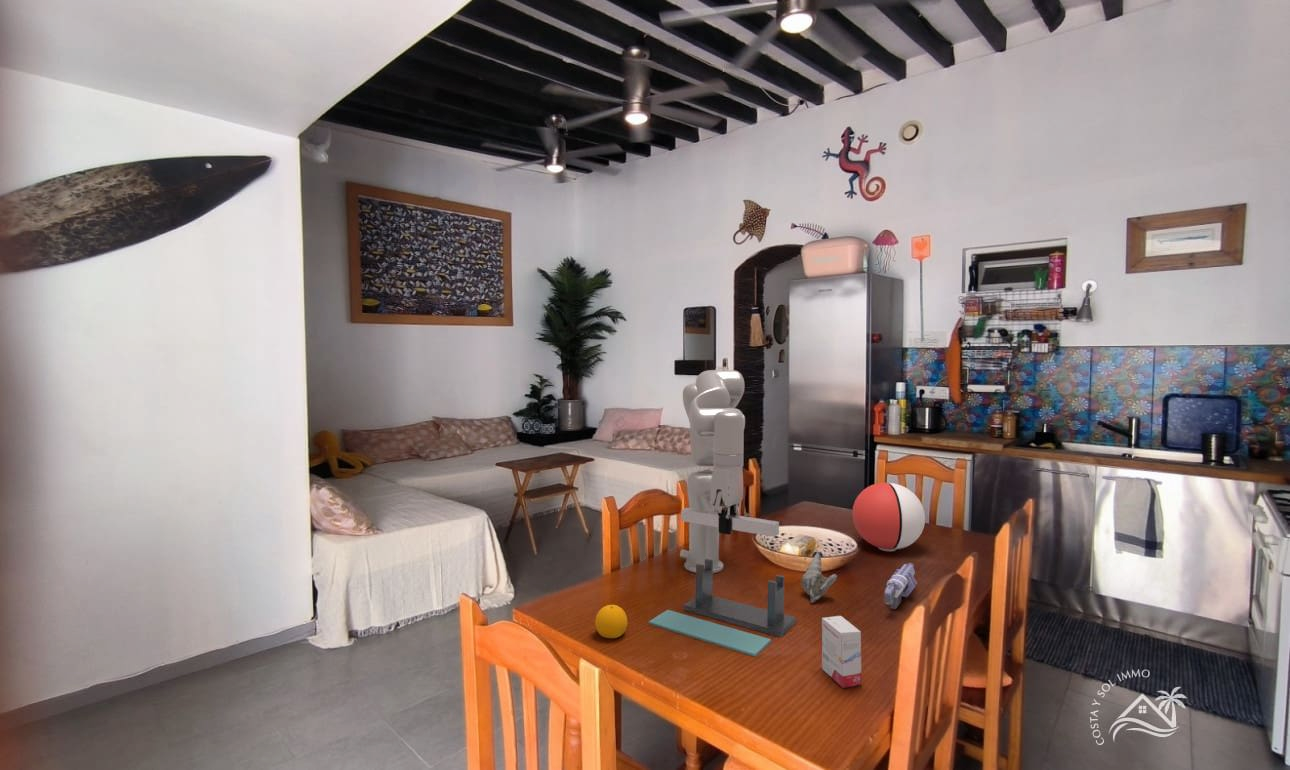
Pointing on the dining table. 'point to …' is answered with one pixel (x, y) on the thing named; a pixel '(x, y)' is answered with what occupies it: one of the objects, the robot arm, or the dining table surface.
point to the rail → (736, 522)
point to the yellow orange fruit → (611, 621)
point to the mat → (711, 632)
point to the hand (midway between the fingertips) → (728, 531)
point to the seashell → (816, 579)
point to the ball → (888, 516)
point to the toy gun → (900, 585)
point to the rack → (741, 605)
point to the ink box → (841, 651)
